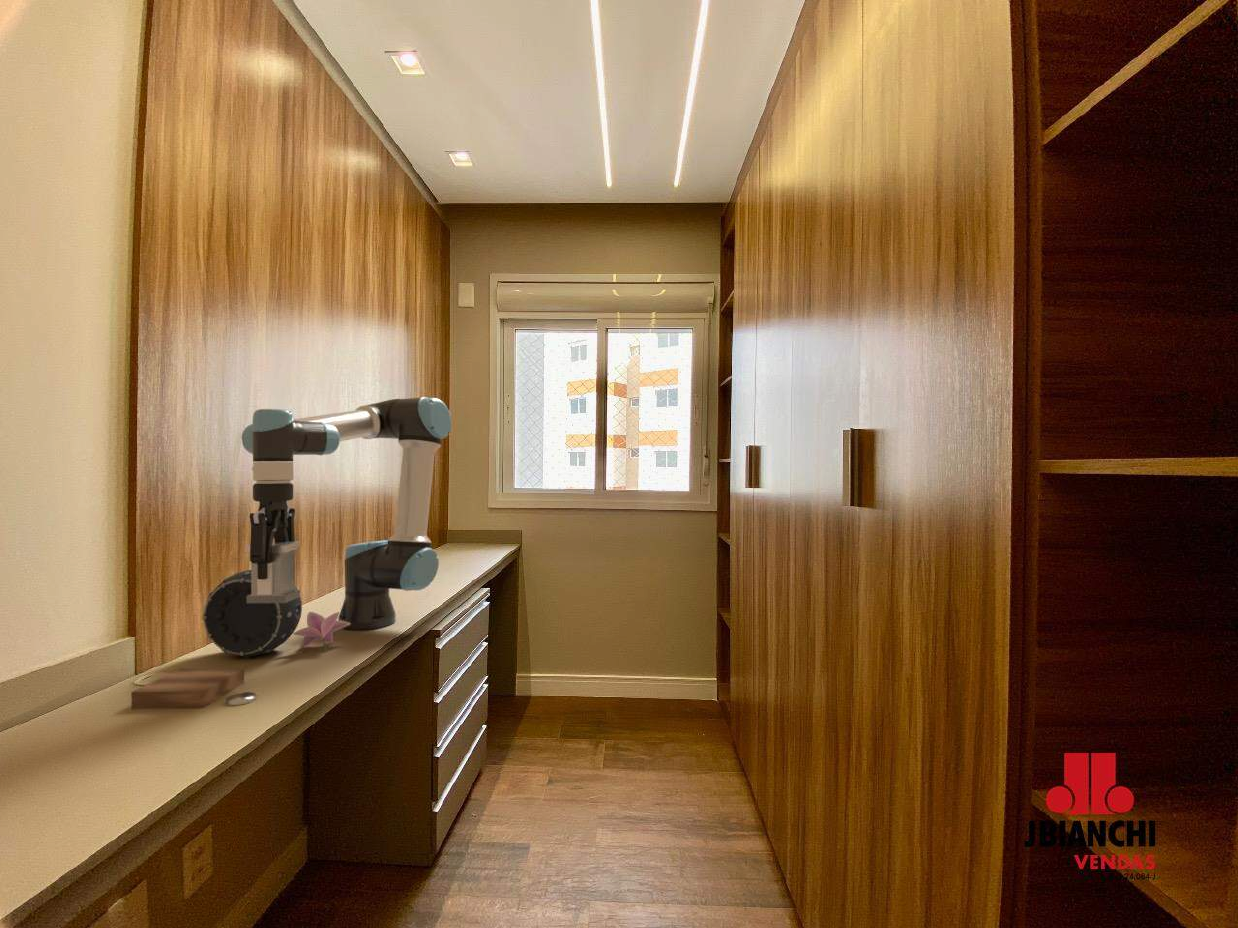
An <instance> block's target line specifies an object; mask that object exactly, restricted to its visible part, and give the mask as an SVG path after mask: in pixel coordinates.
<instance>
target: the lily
mask: <svg viewBox="0 0 1238 928" xmlns="http://www.w3.org/2000/svg"><path fill="white" fill-rule="evenodd" d="M339 614H340V611H337V612H334V613H333V614H330V615H329V616H327V617H324V616H323V615H321V614H320V613H317V612H313V611H308V613H307V615H306V625H307V626H306V627H304V628H301V629H299V630H297V631H296V630H295V631H294V632H293V634H292V635H294V636H302V637H303V638H302V641H301V645H300V647H301V648H306V647H307V646H308V645H310V644H312V643H313V642H317V641H318V640H321V641H323V646H324V647H323V648H324V652H325V653H327V652H328V651H327V646H326V643H327V644H332V643H333V641H334V634H333V633H334V632H336V631H338V630H341V629H343V628H344V627H346V626H349V625H350V624H351V623H349V622H346V621H338V617H339Z"/></svg>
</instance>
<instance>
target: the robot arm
mask: <svg viewBox="0 0 1238 928" xmlns="http://www.w3.org/2000/svg"><path fill="white" fill-rule="evenodd" d="M452 422H453V421H452V416H451V412H450V410H449V408H448V407H447V405H446V404H445V402H443V401H442V400H441V399H439V398H437V397H426V396H423V397H416V398H415V397H411V398H392V399H388V400H382V401H379V402H376V403H371V404H366V405H364V404H363V405H359V406H358V407H357V408H356V409H355V410H350V411H349V410H348V411H343V412H334V413H327V414H322V415H321V414H320V415H314V416H308V417H307V416H306V417H299V418H294V413H293V411H292V410H287V409H279V408H261V409H260V408H259V409H257V410H255V411H254V412H253V415H252V424H249V425H247V426H246V427H245V428H244V430H243V431H242V433H241V443H242V446H243V448H244V449H245V450H246V452H248V453H249V454H252V467H251V470H252V480H253V481H255V482H256V483H254V484H253V485H252V499H253V501H254V502H258V503H259V506H258V509H257V511H256V512H251V513H249V521H250V522H249V523H250V543H249V545H250V553H249V561H250V564H251V563H257V595H271V594H273V570H272V563H269V562H270V557H271V551H272V544H273V542H296V537H295V513H296V509H295V508H292V507H291V508H288V507H289V506H288V502H287V501H292V500H293V499H294V484H293V483H292V482H291V481H293V480H294V478H295V477H294V456H295V455H296V456H301V455H302V456H303V455H304V456H305V455H313V456H315V455H317V456H325V455H331V454H333V453H334V452H336V450H338V448H339V446H340V443H341V442H343V441H349V440H353V439H360V438H362V439H363V440H372V439H395V440H396V439H397V442H398V444H399V445H400V446H401V448H402V456H401V457H402V458H401V467H400V476H399V485H398V486H399V487H398V494H397V495H398V496H397V503H396V504H397V505H396V517H395V525H394V532H393V535H391V536H390V537H389V538H388V539H386V540H385V539H384V540H383V539H382V540H376V541H367V542H361V543H360V542H359V543H354V544H350V545H348V546H347V547H346V549H345V555H344V561H343V562H344V599H343V603H342V605H341V608H340V611H339V615H338V618H337V621H346V622H349V623H351V624H350V625H349V626H346V627H344V628H342V629H343V630H352V631H354V630H359V631H360V630H371V629H373V630H374V629H377V628H382V627H383V628H384V627H387V626H390V625H392V624H394V623H395V622H396V620H397V619H396V618H397V617H396V615H397V614H396V611H395V608H394V605H393V602H392V599H391V596H390V590H391V589H393V590H402V591H405V592H409V591H422V590H424V589H427V588H428V587H429V586H430V585H431V583H432V582H434V580H435V578H436V576H437V573H438V570H439V563H440V560H439V556H438V554H437V551H435V550H434V549H433V548H432V541H431V540H430V538H429V537H428V535H427V533H428V526H429V525H428V524H429V516H430V515H429V514H430V504H431V495H432V494H431V493H432V484H433V483H432V482H433V475H434V463H435V455H436V454H435V453H436V451H437V450H439V449H440V448H441V445H442V439H445V438H447V437H448V436H449V434H450V433H451V431H452V426H453V425H452Z"/></svg>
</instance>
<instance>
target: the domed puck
mask: <svg viewBox="0 0 1238 928" xmlns="http://www.w3.org/2000/svg"><path fill="white" fill-rule="evenodd" d="M257 700H258V699H257V693H256V692H252V691H251V692H247V691H246V692H239V693H235V694H232V695H230V696H228V697H227V698H226V699H225V704H226V705H227V706H230V707H231V706H233V707H234V706H242V705H243V704H244V705H247V704H250V703H252V702H255V701H257ZM244 705H243V706H244Z"/></svg>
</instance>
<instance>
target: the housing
mask: <svg viewBox="0 0 1238 928" xmlns="http://www.w3.org/2000/svg"><path fill="white" fill-rule="evenodd" d="M300 544H301V541H295V542H275V541H273V544H272V551H271V557H270V562H269V563H272V570H273V594H271V595H257V563H251V562H250V566H251V567H250V570H251V595H248V596H246V599H247V603H287V602H289V601H291V600H293V599H296V598H298V597H300V598H301V595H300V594H301V590H300V589H297V590H295V587H296V550H299V549H300V547H301V546H300ZM245 548H246V549H245V553H247V554H250V544H247V545H245Z"/></svg>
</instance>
